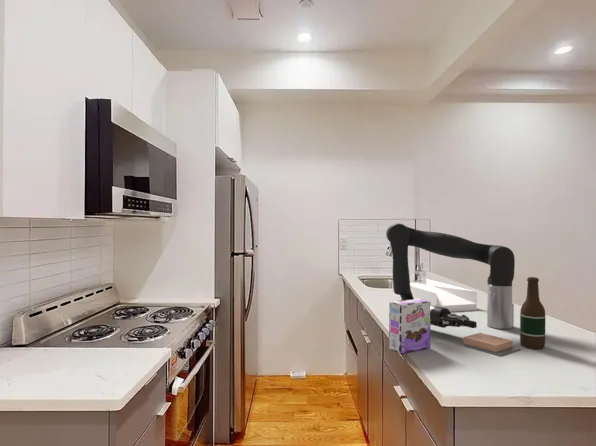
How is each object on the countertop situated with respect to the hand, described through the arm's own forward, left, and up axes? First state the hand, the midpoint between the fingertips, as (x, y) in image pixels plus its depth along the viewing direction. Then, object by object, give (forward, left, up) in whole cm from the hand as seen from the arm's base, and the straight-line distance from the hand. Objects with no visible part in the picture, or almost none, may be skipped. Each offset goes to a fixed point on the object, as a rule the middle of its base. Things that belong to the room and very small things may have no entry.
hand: (475, 325), depth 150 cm
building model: (-36, -64, -7) cm, 74 cm away
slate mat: (-1, +6, -7) cm, 9 cm away
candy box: (+25, -4, -7) cm, 27 cm away
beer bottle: (-16, +11, -7) cm, 20 cm away
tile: (0, -1, -5) cm, 5 cm away
